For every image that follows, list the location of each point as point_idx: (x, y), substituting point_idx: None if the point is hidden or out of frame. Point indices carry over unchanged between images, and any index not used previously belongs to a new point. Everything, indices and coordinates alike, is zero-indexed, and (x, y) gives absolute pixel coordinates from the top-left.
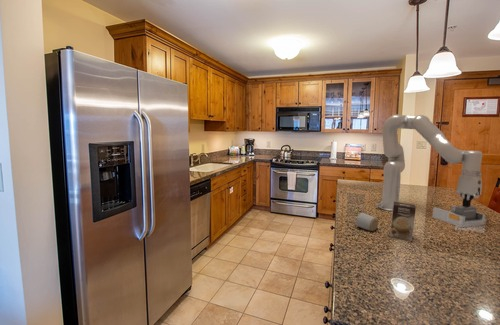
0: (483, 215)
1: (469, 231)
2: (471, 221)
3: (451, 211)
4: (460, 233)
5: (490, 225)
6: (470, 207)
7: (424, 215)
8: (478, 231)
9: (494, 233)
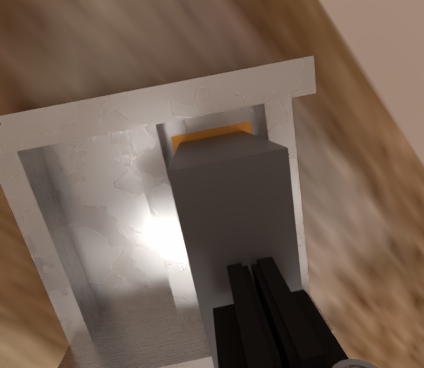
0: (310, 84)
1: (355, 290)
2: (302, 227)
3: (30, 185)
4: (366, 355)
5: (290, 21)
6: (275, 244)
7: (57, 353)
8: (367, 238)
9: (417, 165)
